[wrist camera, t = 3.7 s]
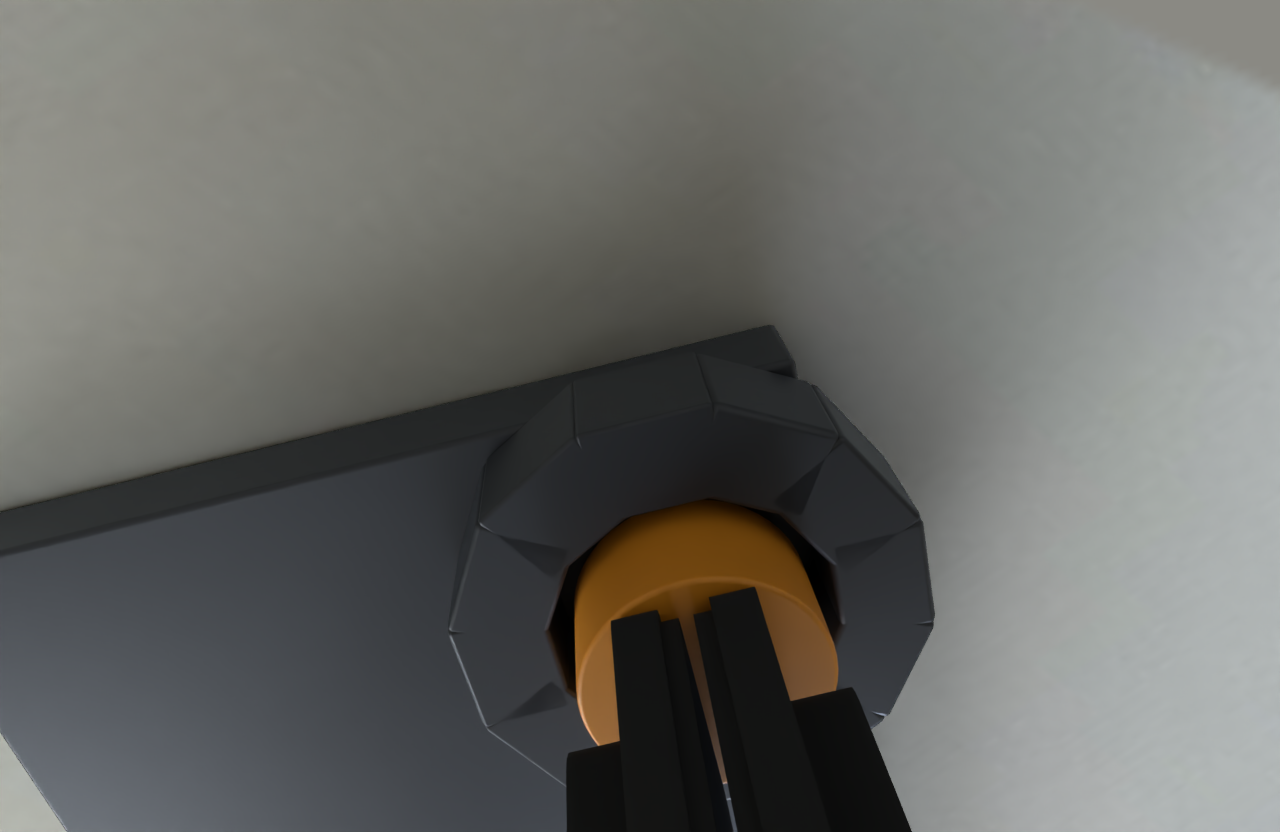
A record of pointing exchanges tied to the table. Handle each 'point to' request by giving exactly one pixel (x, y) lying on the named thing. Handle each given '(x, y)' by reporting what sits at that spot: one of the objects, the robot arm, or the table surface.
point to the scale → (416, 598)
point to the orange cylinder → (695, 600)
